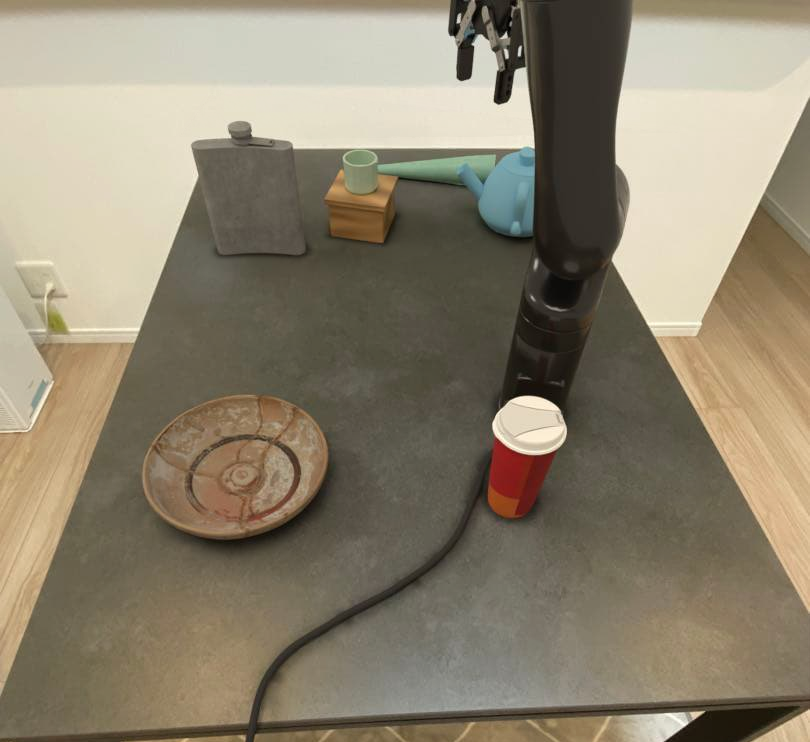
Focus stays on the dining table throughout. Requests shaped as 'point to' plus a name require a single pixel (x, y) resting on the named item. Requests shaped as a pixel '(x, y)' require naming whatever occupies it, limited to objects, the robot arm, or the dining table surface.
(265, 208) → the hip flask
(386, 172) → the mint green cone
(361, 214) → the riser
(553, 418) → the coffee cup
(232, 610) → the dining table surface
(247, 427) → the ceramic bowl
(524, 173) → the teapot
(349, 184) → the pale green cup
